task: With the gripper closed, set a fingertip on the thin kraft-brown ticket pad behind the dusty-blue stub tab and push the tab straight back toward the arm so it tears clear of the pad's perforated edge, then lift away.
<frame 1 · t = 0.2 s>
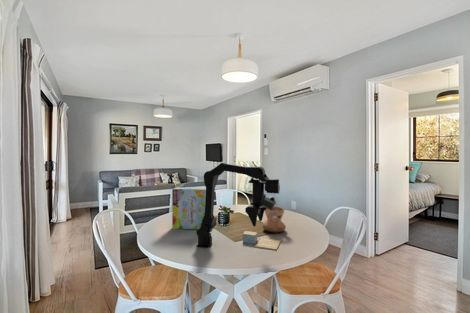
hand: (257, 223, 120), 15 cm above the table, fingers open, 9 cm apart
ticket pad: (267, 244, 132), on the table
stub: (250, 237, 135), point 2 cm above the table, slide at 0.0 cm
snack box: (190, 227, 158), on the table
ceramic jug: (273, 230, 155), on the table
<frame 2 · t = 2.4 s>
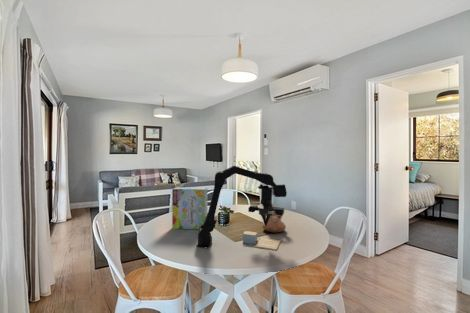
hand: (265, 225, 132), 10 cm above the table, fingers closed
nothing on the table moved.
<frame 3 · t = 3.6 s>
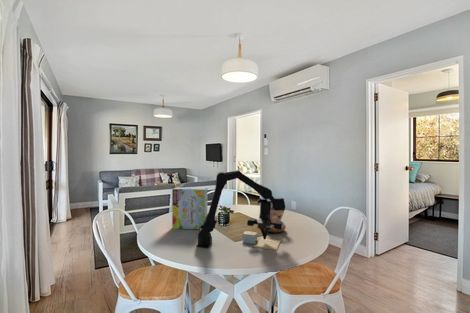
hand: (264, 239, 132), 2 cm above the table, fingers closed
nothing on the table moved.
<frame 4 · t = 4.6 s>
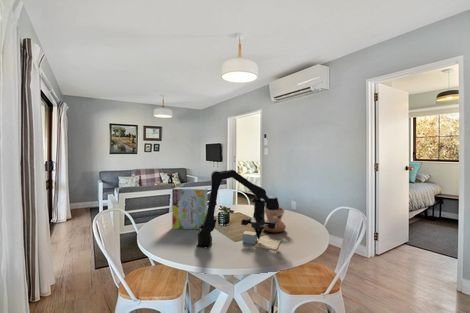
hand: (258, 238, 134), 2 cm above the table, fingers closed
stub: (249, 237, 135), point 2 cm above the table, slide at 0.1 cm, touching gripper
everything else where it was.
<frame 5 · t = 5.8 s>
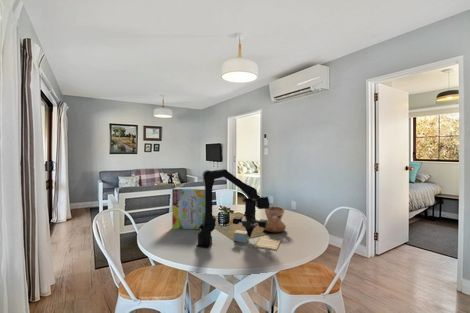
hand: (249, 237, 135), 2 cm above the table, fingers closed
stub: (241, 236, 137), point 2 cm above the table, slide at 5.2 cm, touching gripper
everything else where it was.
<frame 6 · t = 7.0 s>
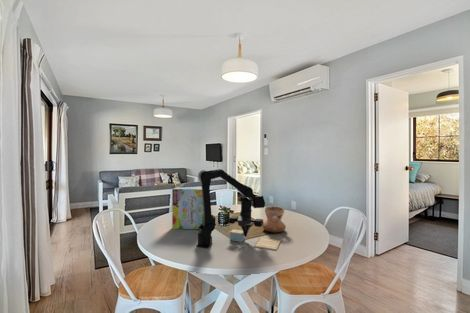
hand: (245, 236, 136), 2 cm above the table, fingers closed
stub: (237, 235, 138), point 2 cm above the table, slide at 7.5 cm, touching gripper
everything else where it was.
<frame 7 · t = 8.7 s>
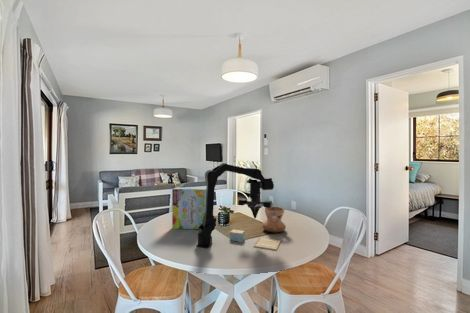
hand: (255, 218, 138), 12 cm above the table, fingers closed
stub: (237, 235, 138), point 2 cm above the table, slide at 7.5 cm
everything else where it was.
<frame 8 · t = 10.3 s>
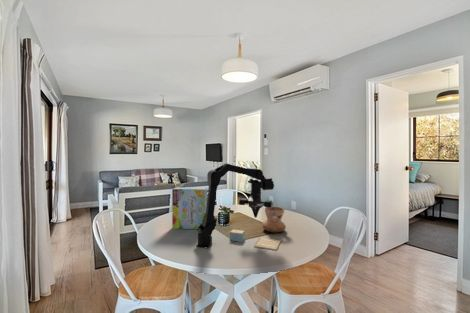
hand: (255, 217, 140), 12 cm above the table, fingers closed
nothing on the table moved.
at the end: stub slide at 7.5 cm; stub touching nothing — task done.
